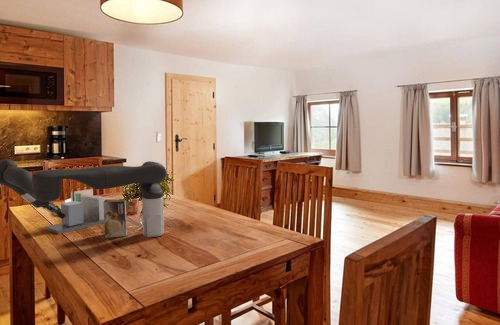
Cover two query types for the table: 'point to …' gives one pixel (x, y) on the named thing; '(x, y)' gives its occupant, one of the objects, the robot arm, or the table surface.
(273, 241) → the table surface
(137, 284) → the table surface
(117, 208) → the coffee box
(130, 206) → the smoothie
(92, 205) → the stand
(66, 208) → the grey box
